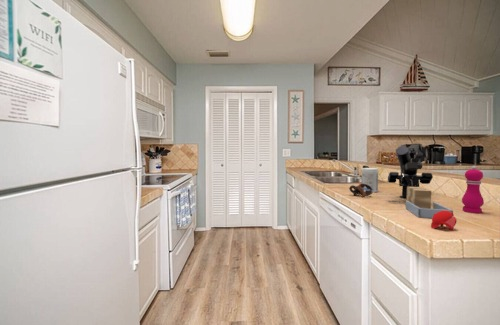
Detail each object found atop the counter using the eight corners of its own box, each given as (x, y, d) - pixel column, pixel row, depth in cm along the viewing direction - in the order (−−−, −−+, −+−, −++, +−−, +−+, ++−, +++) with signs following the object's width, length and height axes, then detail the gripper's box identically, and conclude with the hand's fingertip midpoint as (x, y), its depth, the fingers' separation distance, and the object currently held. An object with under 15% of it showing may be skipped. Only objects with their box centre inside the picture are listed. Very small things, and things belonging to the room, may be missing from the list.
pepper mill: (474, 209, 115) (476, 165, 114) (487, 213, 108) (490, 166, 107) (457, 209, 116) (459, 165, 114) (469, 213, 108) (471, 166, 107)
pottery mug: (367, 195, 153) (372, 184, 148) (368, 205, 145) (374, 194, 141) (346, 189, 155) (351, 178, 150) (347, 199, 147) (352, 188, 142)
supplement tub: (369, 189, 170) (370, 167, 169) (381, 192, 161) (382, 168, 160) (357, 190, 167) (358, 168, 166) (369, 193, 158) (369, 169, 157)
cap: (446, 215, 92) (431, 206, 93) (461, 214, 87) (445, 204, 87) (439, 235, 90) (424, 226, 90) (454, 235, 84) (438, 225, 85)
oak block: (406, 204, 125) (406, 186, 124) (420, 205, 123) (421, 186, 123) (414, 210, 113) (415, 190, 113) (430, 211, 112) (431, 190, 111)
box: (405, 208, 117) (405, 200, 117) (434, 210, 114) (435, 202, 114) (418, 217, 102) (419, 208, 102) (452, 219, 99) (453, 210, 99)
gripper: (389, 156, 131) (395, 180, 121) (432, 156, 126) (441, 181, 116) (385, 170, 139) (390, 194, 129) (425, 171, 134) (433, 196, 124)
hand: (413, 191), depth 124 cm, fingers closed, pressing on oak block
